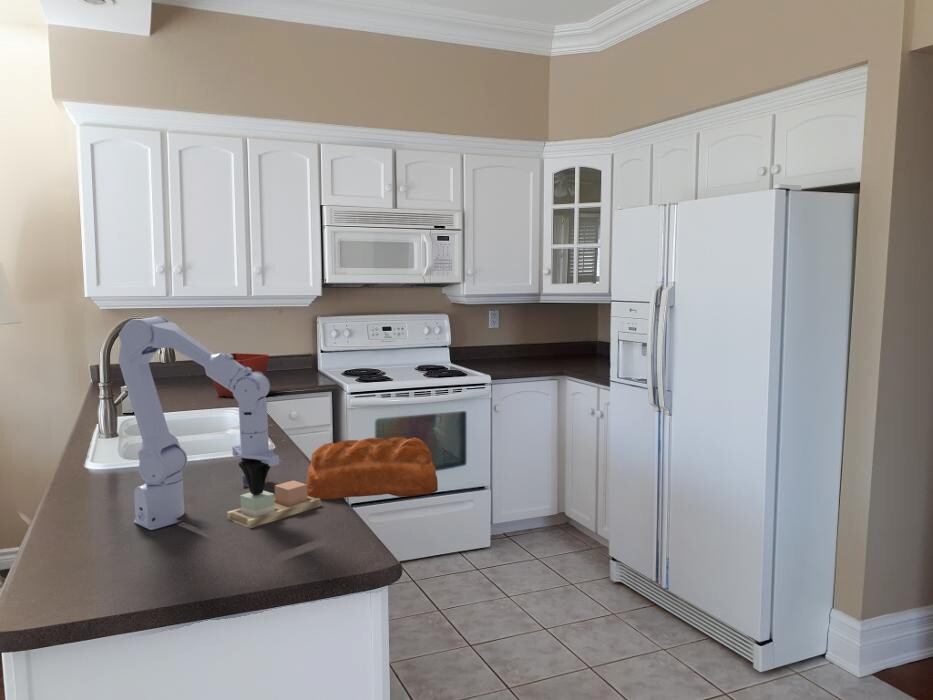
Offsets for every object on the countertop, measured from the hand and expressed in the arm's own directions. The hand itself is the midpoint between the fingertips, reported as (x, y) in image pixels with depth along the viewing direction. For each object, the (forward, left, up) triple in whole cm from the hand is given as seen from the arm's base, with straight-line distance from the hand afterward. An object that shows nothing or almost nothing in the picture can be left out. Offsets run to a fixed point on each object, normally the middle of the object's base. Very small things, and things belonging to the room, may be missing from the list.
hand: (257, 493), depth 155 cm
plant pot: (+85, +145, -7) cm, 168 cm away
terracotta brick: (+9, 0, -5) cm, 10 cm away
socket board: (+4, 0, -6) cm, 8 cm away
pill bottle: (+14, +23, -7) cm, 28 cm away
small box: (+39, +144, -7) cm, 149 cm away
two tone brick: (0, 0, -5) cm, 5 cm away
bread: (+30, -2, -7) cm, 31 cm away
